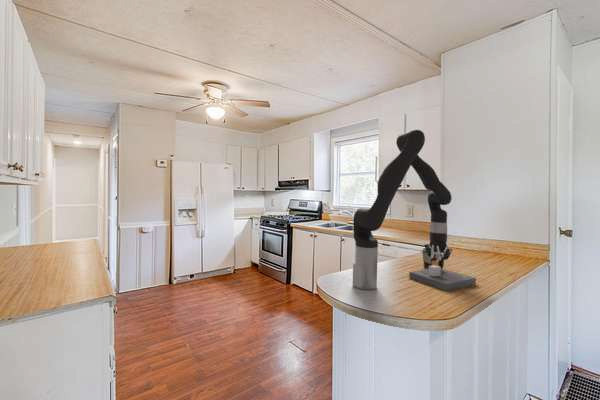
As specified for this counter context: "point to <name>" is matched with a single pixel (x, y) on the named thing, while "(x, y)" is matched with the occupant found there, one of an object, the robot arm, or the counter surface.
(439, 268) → the grey fader
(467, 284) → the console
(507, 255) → the counter surface
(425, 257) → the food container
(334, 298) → the counter surface
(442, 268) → the orange fader
